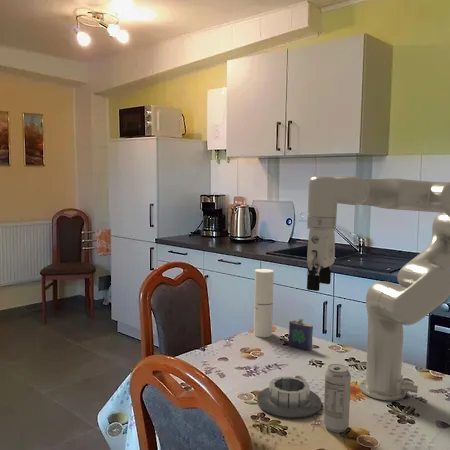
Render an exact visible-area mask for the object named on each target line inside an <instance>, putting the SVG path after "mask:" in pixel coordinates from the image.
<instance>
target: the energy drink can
mask: <svg viewBox="0 0 450 450" xmlns="http://www.w3.org/2000/svg"><path fill="white" fill-rule="evenodd" d="M351 377H352V375H351V374H350V371H349V367H347V366H346V365H344V364H340V363H332V364H329V365H328V367H327V369H326V371H325V373H324V393H323V394H324V395H323V397H324V399H323V424H324V426H325V429H327V430H328V431H330V432H333V433H343V432H345V431H346V430H347V428H349V425H350V405H351V404H350V403H351V401H350V400H351V380H352V379H351Z"/></svg>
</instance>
